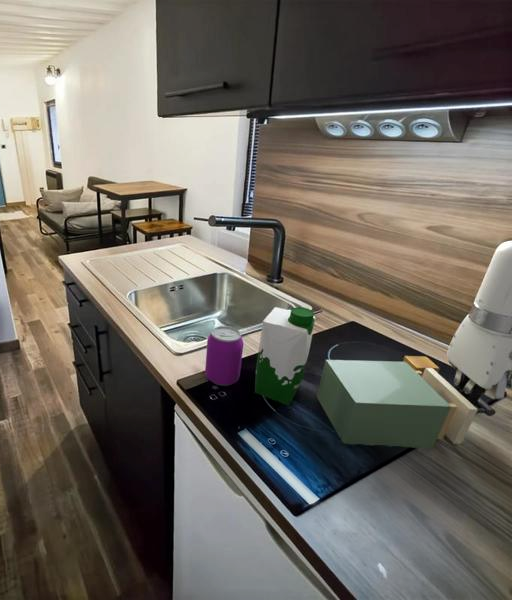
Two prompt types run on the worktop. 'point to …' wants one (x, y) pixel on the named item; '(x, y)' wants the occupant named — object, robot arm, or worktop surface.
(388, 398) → the cabinet
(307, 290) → the worktop surface
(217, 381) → the beverage can
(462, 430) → the drawer
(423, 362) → the block
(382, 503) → the worktop surface
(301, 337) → the milk carton
